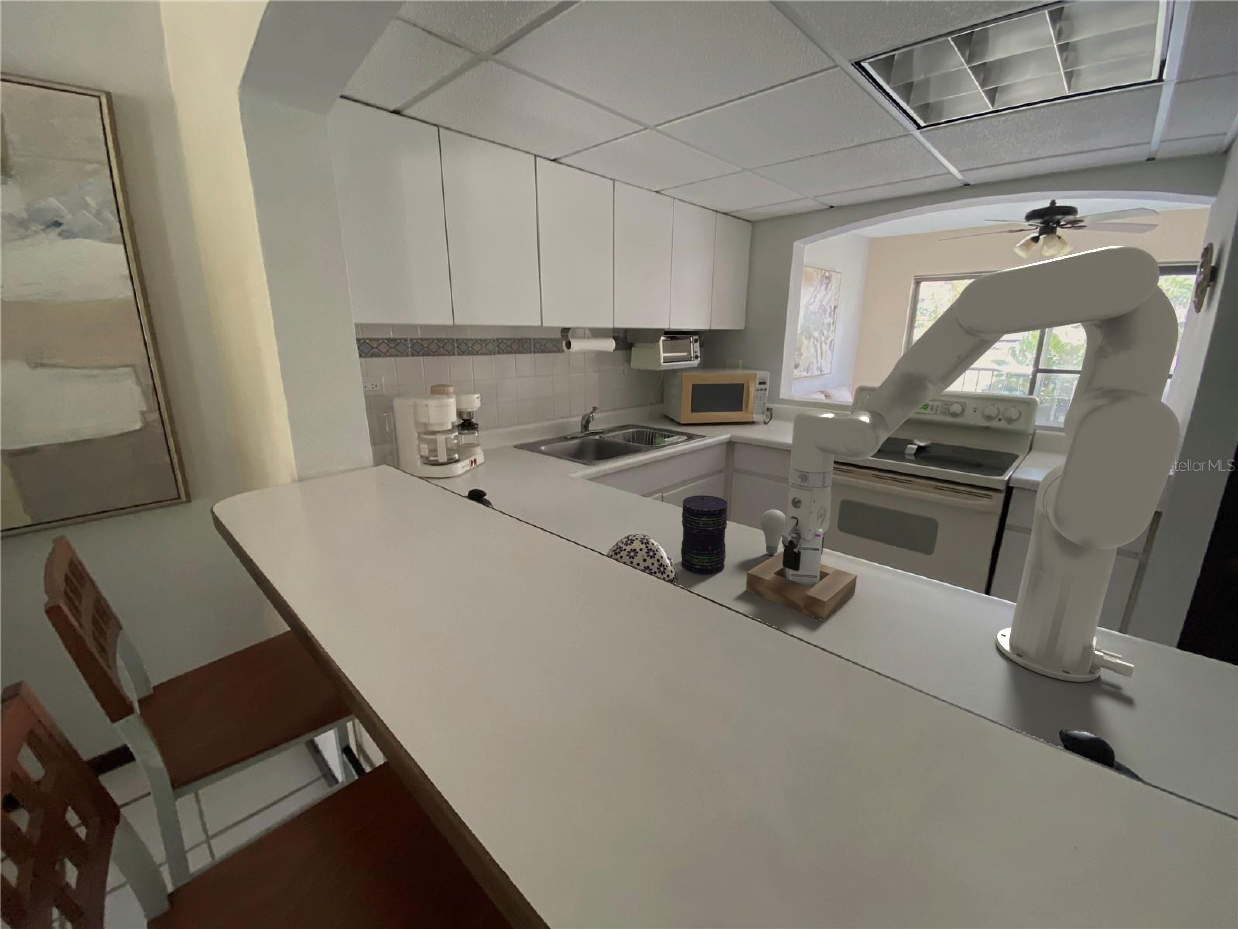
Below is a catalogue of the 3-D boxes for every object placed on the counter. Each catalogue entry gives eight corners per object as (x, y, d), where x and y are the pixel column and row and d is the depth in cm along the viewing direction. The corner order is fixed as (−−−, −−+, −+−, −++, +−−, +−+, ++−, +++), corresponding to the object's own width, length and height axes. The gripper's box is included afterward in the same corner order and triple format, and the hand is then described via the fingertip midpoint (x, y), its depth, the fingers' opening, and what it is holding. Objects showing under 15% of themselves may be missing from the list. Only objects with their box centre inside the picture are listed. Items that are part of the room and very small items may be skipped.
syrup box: (818, 601, 95) (825, 531, 92) (786, 598, 96) (792, 528, 93) (813, 587, 101) (820, 520, 97) (783, 584, 102) (788, 518, 98)
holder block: (854, 593, 98) (857, 575, 97) (823, 621, 88) (826, 601, 87) (780, 567, 109) (781, 551, 108) (745, 590, 99) (747, 572, 98)
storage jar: (729, 575, 106) (732, 509, 102) (683, 575, 106) (685, 510, 102) (719, 555, 115) (722, 494, 112) (678, 556, 115) (679, 495, 112)
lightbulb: (788, 552, 117) (791, 508, 114) (780, 562, 112) (784, 516, 109) (762, 547, 120) (765, 504, 117) (754, 556, 115) (757, 511, 112)
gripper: (808, 491, 84) (800, 582, 88) (849, 472, 96) (840, 553, 100) (768, 482, 89) (762, 568, 94) (811, 465, 101) (804, 542, 105)
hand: (802, 560), depth 97 cm, fingers open, 9 cm apart
